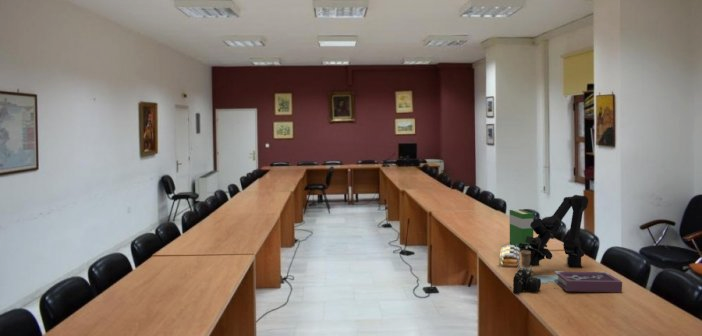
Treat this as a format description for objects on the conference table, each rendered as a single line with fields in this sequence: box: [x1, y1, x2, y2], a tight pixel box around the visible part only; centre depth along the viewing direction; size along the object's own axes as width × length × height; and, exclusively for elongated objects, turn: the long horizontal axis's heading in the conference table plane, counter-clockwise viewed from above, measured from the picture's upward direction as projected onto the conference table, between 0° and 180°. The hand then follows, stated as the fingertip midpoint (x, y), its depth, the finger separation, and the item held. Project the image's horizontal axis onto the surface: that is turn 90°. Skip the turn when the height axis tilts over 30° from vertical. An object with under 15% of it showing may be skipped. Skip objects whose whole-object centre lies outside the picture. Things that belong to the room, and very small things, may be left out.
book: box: [554, 270, 623, 293], centre depth 243 cm, size 25×16×5 cm, turn 88°
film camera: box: [512, 267, 542, 295], centre depth 242 cm, size 18×12×10 cm
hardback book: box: [509, 209, 534, 253], centre depth 322 cm, size 18×7×24 cm, turn 7°
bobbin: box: [520, 250, 535, 277], centre depth 263 cm, size 7×7×12 cm
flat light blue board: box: [532, 274, 558, 285], centre depth 256 cm, size 14×14×1 cm
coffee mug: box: [529, 246, 540, 267], centre depth 285 cm, size 12×9×10 cm
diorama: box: [499, 244, 520, 269], centre depth 291 cm, size 25×10×13 cm, turn 161°
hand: (526, 263), depth 263 cm, fingers closed on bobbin, 4 cm apart
